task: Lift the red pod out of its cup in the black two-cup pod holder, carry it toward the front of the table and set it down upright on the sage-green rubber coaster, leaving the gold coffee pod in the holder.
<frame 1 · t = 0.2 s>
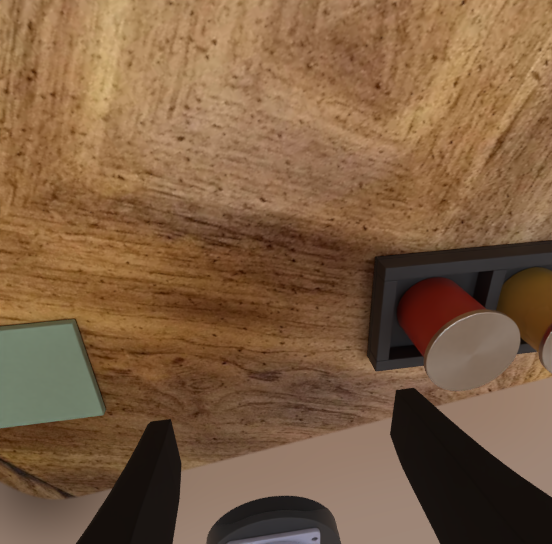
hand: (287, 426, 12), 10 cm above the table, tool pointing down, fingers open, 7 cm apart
gold coffee pod: (525, 296, 24), resting on pod holder
pod holder: (473, 298, 24), on the table
red pod: (429, 306, 23), resting on pod holder
coaster: (30, 374, 22), on the table
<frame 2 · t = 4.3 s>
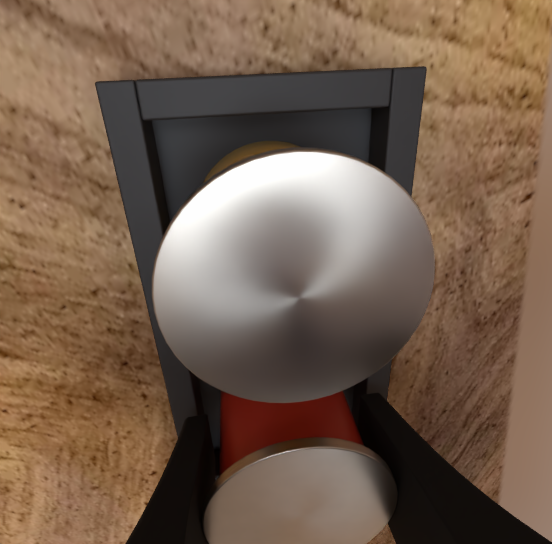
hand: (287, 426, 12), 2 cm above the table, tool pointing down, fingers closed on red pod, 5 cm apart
gold coffee pod: (270, 217, 11), resting on pod holder
pod holder: (273, 305, 12), on the table
red pod: (279, 386, 13), resting on pod holder, touching gripper
when the fingers open (2 cm above the table, at t = 9.5 s): red pod stays where it is, resting on coaster.
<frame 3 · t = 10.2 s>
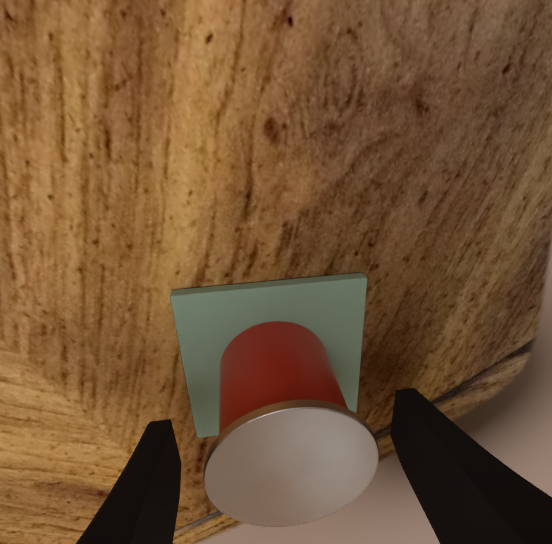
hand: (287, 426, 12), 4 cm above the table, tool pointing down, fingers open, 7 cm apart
red pod: (273, 365, 15), resting on coaster
coaster: (273, 356, 15), on the table
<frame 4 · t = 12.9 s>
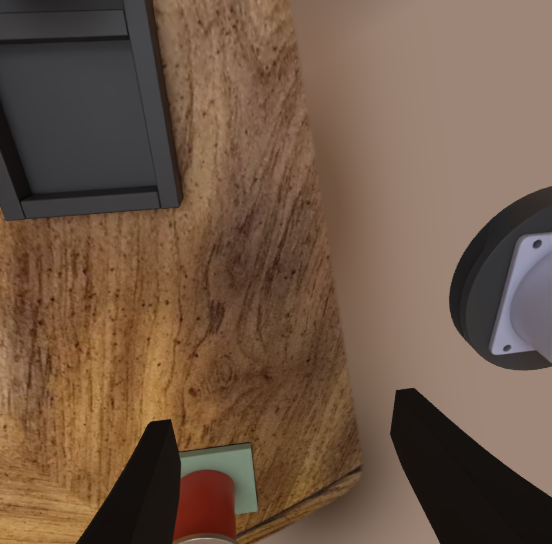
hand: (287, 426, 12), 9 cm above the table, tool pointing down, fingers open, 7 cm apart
pod holder: (60, 31, 14), on the table
red pod: (204, 489, 26), resting on coaster
coaster: (205, 482, 27), on the table
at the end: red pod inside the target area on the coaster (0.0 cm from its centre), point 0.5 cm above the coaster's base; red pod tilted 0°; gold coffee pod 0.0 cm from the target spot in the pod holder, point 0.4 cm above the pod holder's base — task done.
